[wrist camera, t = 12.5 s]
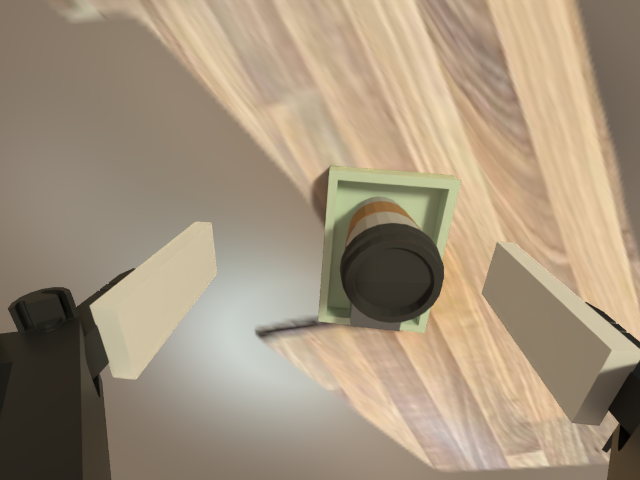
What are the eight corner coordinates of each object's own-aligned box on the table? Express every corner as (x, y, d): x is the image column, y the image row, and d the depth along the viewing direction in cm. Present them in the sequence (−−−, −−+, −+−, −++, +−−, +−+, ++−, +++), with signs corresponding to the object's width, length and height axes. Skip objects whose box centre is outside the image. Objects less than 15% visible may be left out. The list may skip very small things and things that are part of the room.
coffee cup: (409, 252, 39) (442, 330, 25) (342, 251, 39) (339, 326, 26) (415, 186, 36) (457, 233, 22) (342, 186, 36) (338, 232, 23)
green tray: (330, 165, 36) (329, 170, 34) (452, 175, 36) (461, 180, 33) (320, 308, 44) (318, 321, 41) (419, 318, 43) (424, 332, 40)
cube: (354, 263, 40) (354, 282, 35) (401, 267, 40) (407, 288, 35) (349, 302, 42) (349, 325, 38) (393, 307, 42) (399, 331, 37)
